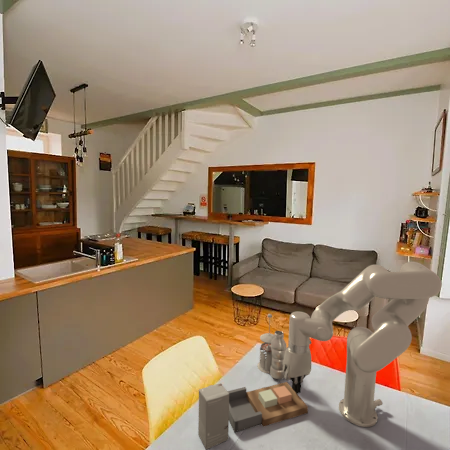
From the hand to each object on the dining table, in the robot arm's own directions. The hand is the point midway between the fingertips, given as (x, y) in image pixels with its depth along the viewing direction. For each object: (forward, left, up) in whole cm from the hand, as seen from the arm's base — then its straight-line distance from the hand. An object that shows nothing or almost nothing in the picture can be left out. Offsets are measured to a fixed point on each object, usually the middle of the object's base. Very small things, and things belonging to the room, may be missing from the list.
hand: (296, 390), depth 107 cm
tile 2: (+6, 0, -1) cm, 6 cm away
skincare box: (+35, +5, -4) cm, 35 cm away
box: (+23, -1, -4) cm, 23 cm away
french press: (+1, -21, -4) cm, 21 cm away
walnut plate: (+9, 0, -4) cm, 10 cm away
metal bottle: (0, -14, -4) cm, 14 cm away
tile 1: (+12, 0, -1) cm, 12 cm away
